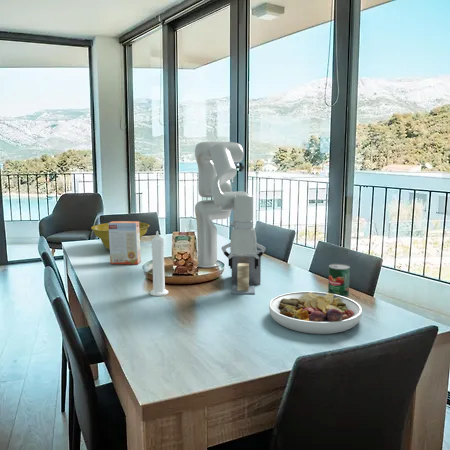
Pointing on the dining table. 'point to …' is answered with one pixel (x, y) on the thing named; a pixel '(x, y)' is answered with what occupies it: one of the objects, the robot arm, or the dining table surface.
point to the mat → (251, 291)
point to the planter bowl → (103, 232)
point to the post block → (253, 273)
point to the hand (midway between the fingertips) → (243, 268)
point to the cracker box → (124, 242)
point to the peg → (243, 277)
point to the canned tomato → (339, 279)
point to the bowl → (315, 312)
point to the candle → (158, 266)
